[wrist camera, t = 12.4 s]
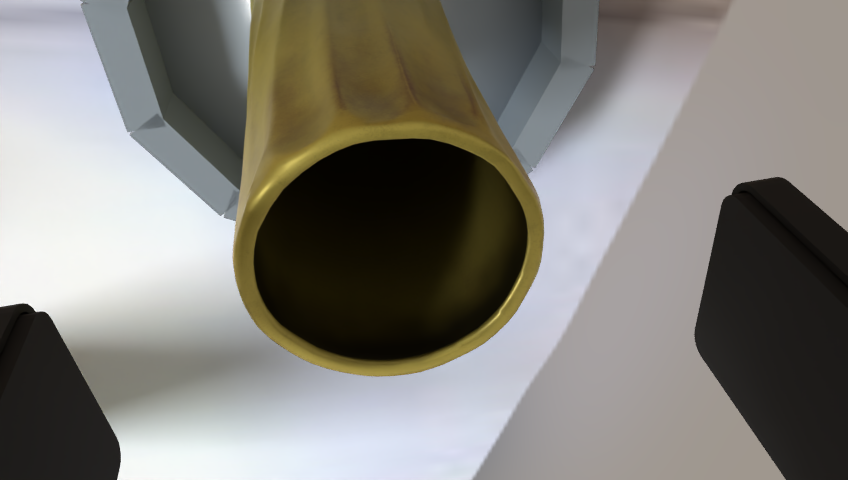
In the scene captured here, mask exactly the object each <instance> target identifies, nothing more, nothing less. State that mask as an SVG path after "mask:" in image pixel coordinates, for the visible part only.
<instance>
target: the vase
mask: <svg viewBox="0 0 848 480" xmlns="http://www.w3.org/2000/svg"><path fill="white" fill-rule="evenodd" d="M250 7H251V23H250V39H249V67H248V88H247V118H246V130H245V141H244V153H243V167H242V178H241V187H240V194H239V201H238V208H237V216H236V225H235V235H234V244H233V266H234V272H235V279H236V283H237V286H238V290H239V293H240V296H241V298H242V301H243V303H244V305H245V308H246V309H247V311H248V313H249V315H250V316H251V318H252V320H253V321H254V322H255V324H256V325H257V327H258V328H259V329H260V330H261V331H263V332H264V333H265V334H266V335H267V336H268V337H269V338H270V339H272V340H273V341H274V342H276V343H277V344H278V345H280V346H281V347H283V348H284V349H286V350H288V351H289V352H291V353H292V354H294V355H296V356H298V357H299V358H301V359H303V360H306V361H308V362H310V363H312V364H315V365H318V366H321V367H324V368H327V369H331V370H335V371H339V372H344V373H350V374H356V375H363V376H396V375H405V374H412V373H417V372H422V371H425V370H428V369H431V368H434V367H437V366H440V365H443V364H445V363H447V362H449V361H452V360H454V359H456V358H458V357H460V356H462V355H464V354H466V353H468V352H470V351H472V350H474V349H475V348H477V347H479V346H480V345H482V344H484V343H485V342H486V341H488V340H489V339H490V338H491V337H493V336H494V335H495V334H496V333H497V332H498V331H499V330H500V329H501V328H502V327H503V326H504V325H505V324H506V323H507V322H508V321H509V320H510V319H511V318H512V316H513V315H514V314H515V313H516V311H517V310H518V308H519V306H520V305H521V303H522V301H523V299H524V298H525V296H526V294H527V292H528V291H529V289H530V287H531V285H532V283H533V281H534V279H535V277H536V275H537V272H538V269H539V266H540V263H541V257H542V250H543V239H544V220H543V214H542V209H541V205H540V200H539V197H538V194H537V192H536V190H535V188H534V186H533V184H532V182H531V180H530V179H529V177H528V175H527V173H526V171H525V170H524V168H523V166H522V164H521V162H520V161H519V159H518V157H517V155H516V154H515V152H514V150H513V149H512V147H511V145H510V144H509V142H508V140H507V139H506V137H505V135H504V134H503V132H502V130H501V128H500V127H499V125H498V123H497V121H496V119H495V118H494V116H493V114H492V112H491V110H490V108H489V106H488V105H487V103H486V101H485V99H484V97H483V96H482V94H481V92H480V90H479V89H478V87H477V85H476V83H475V81H474V80H473V78H472V76H471V74H470V72H469V70H468V68H467V66H466V63H465V61H464V59H463V57H462V54H461V52H460V50H459V47H458V45H457V43H456V41H455V38H454V36H453V33H452V31H451V29H450V26H449V23H448V20H447V18H446V15H445V13H444V10H443V7H442V4H441V2H440V0H250Z"/></svg>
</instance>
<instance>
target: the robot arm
mask: <svg viewBox="0 0 848 480" xmlns="http://www.w3.org/2000/svg"><path fill="white" fill-rule="evenodd" d="M695 342H696V346H697V349H698V351H699V353H700V355H701V357H702V358H703V360H704V361H705V363H706V364H707V365H708V367H709V368H710V370H711V371H712V373H713V374H714V376H715V377H716V378H717V380H718V381H719V383H720V384H721V386H722V387H723V388H724V390H725V392H726V393H727V395H728V396H729V397H730V399H731V400H732V402H733V403H734V405H735V406H736V408H737V409H738V410H739V412H740V413H741V415H742V416H743V418H744V419H745V421H746V422H747V424H748V425H749V426H750V428H751V429H752V431H753V432H754V434H755V435H756V436H757V438H758V440H759V441H760V442H761V444H762V445H763V447H764V448H765V450H766V451H767V452H768V454H769V456H770V457H771V458H772V460H773V461H774V463H775V464H776V466H777V467H778V469H779V470H780V471H781V473H782V474H783V476H784V477H785V479H786V480H848V232H847V231H846V230H844V229H843V228H842V227H841V226H839V224H837V223H836V222H835V221H834V220H833V219H832V218H830V217H829V216H828V215H827V214H826V213H824V211H822V210H821V209H820V208H819V207H818V206H816V205H815V204H814V203H813V202H812V201H811V200H810V199H808V198H807V197H806V196H805V195H804V194H803V193H801V192H800V191H799V190H798V189H797V188H796V187H794V186H793V185H792V184H791V183H790V182H789V181H787V180H786V179H784V178H780V177H775V178H769V179H763V180H757V181H751V182H745V183H741V184H738V185H737V186H736V187H735V188H734V190H733V192H732V195H729V196H727V197H726V198H725V199H724V200H723V202H722V205H721V210H720V215H719V219H718V224H717V228H716V234H715V238H714V243H713V247H712V252H711V257H710V261H709V266H708V271H707V275H706V280H705V285H704V290H703V294H702V299H701V303H700V308H699V313H698V317H697V322H696V327H695ZM120 462H121V453H120V446H119V442H118V440H117V437H116V436H115V434H114V432H113V430H112V428H111V426H110V425H109V423H108V421H107V419H106V417H105V416H104V414H103V412H102V410H101V408H100V406H99V405H98V403H97V401H96V399H95V397H94V396H93V394H92V392H91V390H90V388H89V386H88V385H87V383H86V381H85V379H84V377H83V376H82V374H81V372H80V370H79V368H78V366H77V365H76V363H75V361H74V359H73V357H72V356H71V354H70V352H69V350H68V348H67V346H66V345H65V343H64V341H63V339H62V337H61V336H60V334H59V332H58V330H57V328H56V326H55V325H54V323H53V321H52V319H51V318H50V316H49V315H48V314H47V313H45V312H35V311H34V309H33V308H32V307H31V306H29V305H28V304H23V303H22V304H16V305H10V306H4V307H0V480H117V477H118V473H119V468H120Z"/></svg>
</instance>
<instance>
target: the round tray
mask: <svg viewBox="0 0 848 480" xmlns="http://www.w3.org/2000/svg"><path fill="white" fill-rule="evenodd" d="M80 1H83V3H82V4H81V7H82V10H83V13H84V15H85V18H86V21H87V23H88V26H89V29H90V32H91V34H92V37H93V40H94V42H95V45H96V48H97V51H98V53H99V56H100V59H101V61H102V64H103V67H104V70H105V72H106V75H107V78H108V80H109V83H110V86H111V89H112V91H113V94H114V97H115V100H116V102H117V105H118V108H119V110H120V113H121V116H122V119H123V121H124V124H125V127H126V129H127V132H131V133H130V136H131V137H132V138H133V139H134V140H136V141H137V142H138V143H139V144H140V145H141V146H142V147H143V148H145V149H146V150H147V151H148V152H149V153H150V154H151V155H152V156H154V157H155V158H156V159H157V160H158V161H159V162H160V163H161V164H163V165H164V166H165V167H166V168H167V169H168V170H169V171H170V172H172V173H173V174H174V175H175V176H176V177H177V178H178V179H179V180H181V181H182V182H183V183H184V184H185V185H186V186H187V187H188V188H190V189H191V190H192V191H193V192H194V193H195V194H196V195H197V196H199V197H200V198H201V199H202V200H203V201H204V202H205V203H206V204H208V205H209V206H210V207H211V208H212V209H213V210H214V211H215V212H217V213H218V214H219V215H220V216H221V215H223V214H224V218H226V219H230V220H234V221H236V216H237V208H238V201H239V194H240V187H241V178H242V167H243V153H244V141H245V130H246V118H247V88H248V67H249V39H250V23H251V7H250V0H80ZM440 2H441V4H442V7H443V10H444V13H445V15H446V18H447V20H448V23H449V26H450V29H451V31H452V33H453V36H454V38H455V41H456V43H457V45H458V47H459V50H460V52H461V54H462V57H463V59H464V61H465V63H466V66H467V68H468V70H469V72H470V74H471V76H472V78H473V80H474V81H475V83H476V85H477V87H478V89H479V90H480V92H481V94H482V96H483V97H484V99H485V101H486V103H487V105H488V106H489V108H490V110H491V112H492V114H493V116H494V118H495V119H496V121H497V123H498V125H499V127H500V128H501V130H502V132H503V134H504V135H505V137H506V139H507V140H508V142H509V144H510V145H511V147H512V149H513V150H514V152H515V154H516V155H517V157H518V159H519V161H520V162H521V164H522V166H523V168H524V170H525V171H526V173H527V174H528V173H530V172H531V171H533V169H532V168H531V166H532V167H534V168H536V166H537V164H538V163H539V161H540V159H541V158H542V156H543V154H544V152H545V151H546V149H547V147H548V146H549V144H550V142H551V141H552V139H553V137H554V136H555V134H556V132H557V131H558V129H559V127H560V126H561V124H562V122H563V121H564V119H565V117H566V115H567V114H568V112H569V110H570V109H571V107H572V105H573V104H574V102H575V100H576V99H577V97H578V95H579V94H580V92H581V90H582V89H583V87H584V85H585V84H586V82H587V80H588V79H589V77H590V75H591V73H592V72H593V70H594V68H593V67H592V66H595V62H596V45H597V29H598V13H599V0H440Z"/></svg>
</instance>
